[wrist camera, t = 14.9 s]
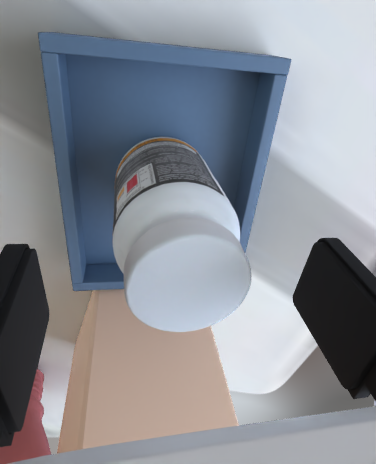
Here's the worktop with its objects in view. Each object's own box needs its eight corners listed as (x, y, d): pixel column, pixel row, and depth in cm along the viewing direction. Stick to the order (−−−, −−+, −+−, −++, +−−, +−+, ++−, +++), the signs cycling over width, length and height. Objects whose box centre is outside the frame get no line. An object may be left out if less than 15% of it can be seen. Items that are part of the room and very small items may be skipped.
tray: (50, 31, 15) (37, 32, 13) (271, 55, 17) (292, 58, 15) (78, 266, 23) (72, 291, 20) (228, 262, 25) (238, 284, 23)
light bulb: (86, 373, 29) (66, 549, 19) (25, 403, 30) (-24, 586, 20) (30, 334, 25) (-31, 529, 15) (-37, 370, 26) (-136, 575, 16)
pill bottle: (96, 185, 19) (72, 305, 11) (157, 111, 17) (186, 187, 9) (166, 234, 22) (190, 359, 13) (225, 174, 20) (295, 275, 12)
